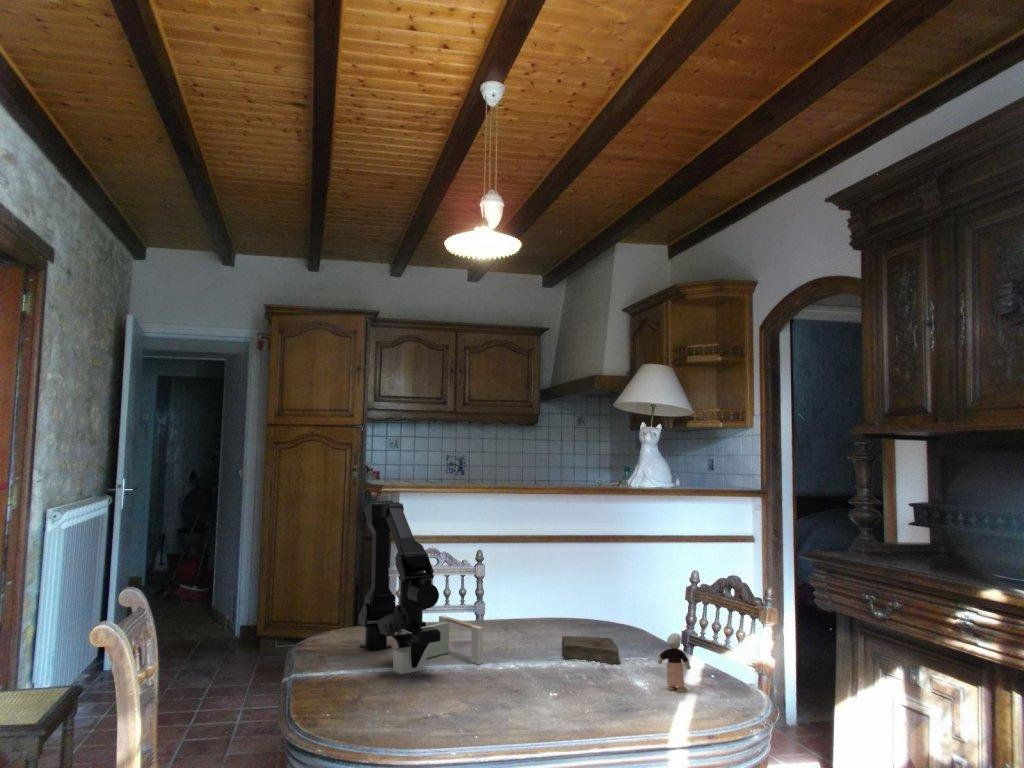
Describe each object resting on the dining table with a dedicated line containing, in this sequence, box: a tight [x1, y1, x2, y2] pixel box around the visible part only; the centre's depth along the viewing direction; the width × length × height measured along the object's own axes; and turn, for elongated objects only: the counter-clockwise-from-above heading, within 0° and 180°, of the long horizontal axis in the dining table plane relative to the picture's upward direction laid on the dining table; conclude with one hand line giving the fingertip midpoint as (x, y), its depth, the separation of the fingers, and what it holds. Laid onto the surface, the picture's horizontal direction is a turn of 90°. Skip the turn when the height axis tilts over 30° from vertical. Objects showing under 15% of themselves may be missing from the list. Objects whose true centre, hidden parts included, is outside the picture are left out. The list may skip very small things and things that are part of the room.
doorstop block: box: [392, 647, 427, 675], centre depth 196 cm, size 4×7×5 cm, turn 129°
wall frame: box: [438, 615, 484, 665], centre depth 210 cm, size 18×2×9 cm, turn 39°
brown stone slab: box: [561, 635, 620, 665], centre depth 213 cm, size 17×15×4 cm
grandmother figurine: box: [657, 632, 691, 693], centre depth 184 cm, size 8×4×13 cm, turn 71°
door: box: [421, 622, 450, 659], centre depth 210 cm, size 10×2×8 cm, turn 139°
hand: (409, 665), depth 196 cm, fingers closed on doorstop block, 4 cm apart
